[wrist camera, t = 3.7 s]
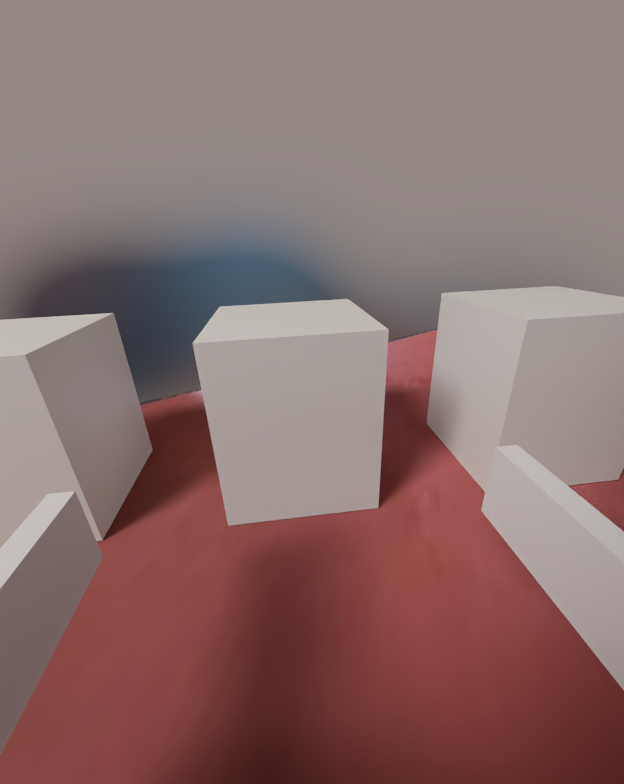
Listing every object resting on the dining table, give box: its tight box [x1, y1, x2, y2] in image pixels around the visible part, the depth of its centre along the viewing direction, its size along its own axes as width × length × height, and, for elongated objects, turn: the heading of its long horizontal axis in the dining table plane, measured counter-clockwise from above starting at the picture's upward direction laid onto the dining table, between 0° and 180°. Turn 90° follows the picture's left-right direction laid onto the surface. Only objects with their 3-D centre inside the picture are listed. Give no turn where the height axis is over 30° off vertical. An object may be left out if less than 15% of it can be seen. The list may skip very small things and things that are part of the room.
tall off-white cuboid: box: [193, 299, 389, 526], centre depth 22 cm, size 9×9×11 cm
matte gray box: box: [0, 313, 153, 548], centre depth 20 cm, size 9×9×11 cm
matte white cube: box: [426, 286, 624, 492], centre depth 23 cm, size 9×9×11 cm
